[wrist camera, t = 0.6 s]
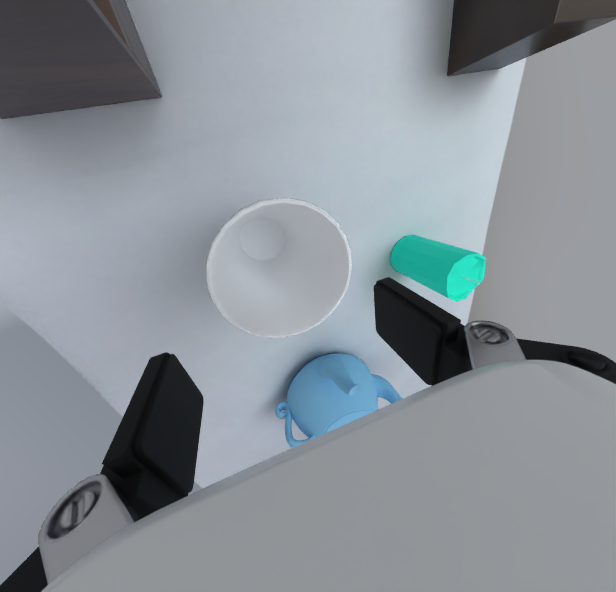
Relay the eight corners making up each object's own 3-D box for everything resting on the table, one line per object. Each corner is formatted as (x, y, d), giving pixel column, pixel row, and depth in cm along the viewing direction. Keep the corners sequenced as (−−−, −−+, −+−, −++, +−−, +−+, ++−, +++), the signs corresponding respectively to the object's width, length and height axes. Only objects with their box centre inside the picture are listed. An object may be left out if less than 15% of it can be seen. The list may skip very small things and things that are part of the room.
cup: (311, 263, 31) (359, 311, 19) (236, 289, 29) (241, 357, 18) (291, 180, 26) (342, 178, 14) (199, 205, 24) (172, 226, 12)
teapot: (385, 357, 45) (432, 411, 34) (331, 421, 48) (359, 486, 38) (320, 328, 36) (357, 386, 26) (262, 408, 40) (273, 486, 30)
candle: (392, 278, 36) (456, 315, 26) (387, 244, 33) (457, 271, 23) (423, 262, 37) (498, 293, 27) (421, 228, 34) (504, 247, 24)
